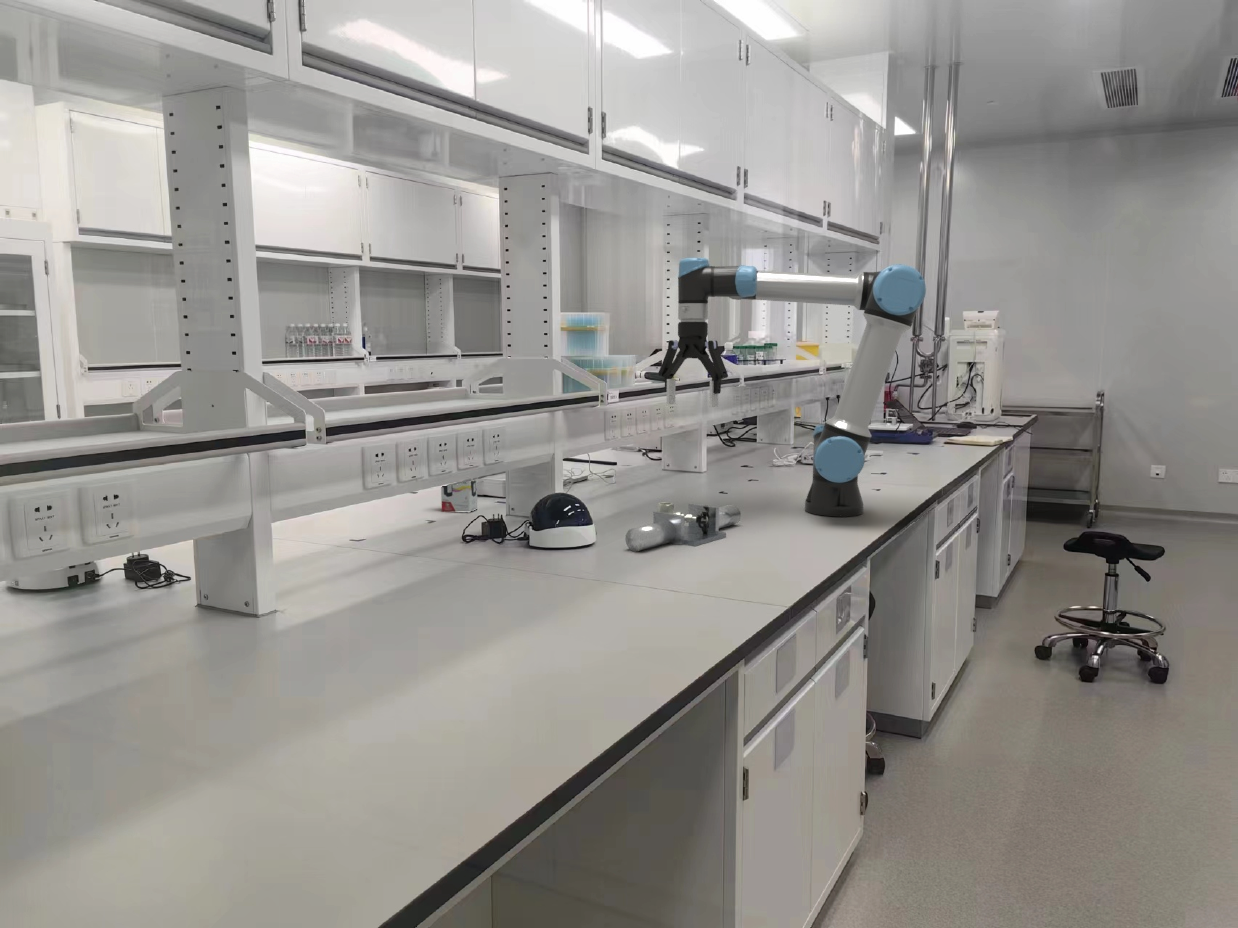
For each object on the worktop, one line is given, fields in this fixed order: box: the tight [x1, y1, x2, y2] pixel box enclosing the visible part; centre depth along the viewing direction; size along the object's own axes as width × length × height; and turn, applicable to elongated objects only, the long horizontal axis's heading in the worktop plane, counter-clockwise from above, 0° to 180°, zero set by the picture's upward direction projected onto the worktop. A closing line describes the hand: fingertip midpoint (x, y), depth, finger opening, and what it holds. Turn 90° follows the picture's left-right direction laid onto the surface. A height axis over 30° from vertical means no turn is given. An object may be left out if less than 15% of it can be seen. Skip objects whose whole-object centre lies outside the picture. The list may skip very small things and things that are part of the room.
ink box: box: [440, 479, 478, 512], centre depth 234 cm, size 9×5×12 cm, turn 73°
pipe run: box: [624, 502, 742, 552], centre depth 204 cm, size 37×14×6 cm, turn 138°
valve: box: [657, 501, 710, 534], centre depth 205 cm, size 7×7×12 cm
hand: (691, 405), depth 225 cm, fingers open, 13 cm apart
